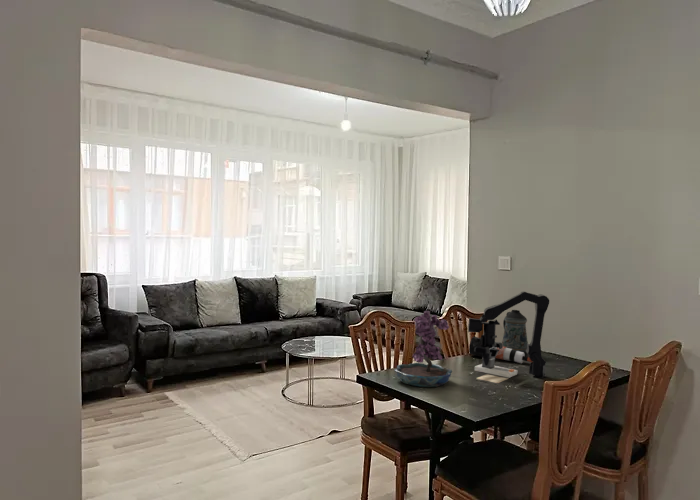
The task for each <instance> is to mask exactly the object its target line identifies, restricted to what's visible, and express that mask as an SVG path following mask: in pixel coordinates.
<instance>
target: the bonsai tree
mask: <svg viewBox="0 0 700 500" xmlns="http://www.w3.org/2000/svg"><path fill="white" fill-rule="evenodd" d="M413 320H414V322H415V323H414V325H415V327H414V328H415V334H416V335H418V336H419V338H418V346H416V347H415V352H414V353H413V354H412V356H411V357H412V358H413V360H414V361H415V363H414V362H413V363H409V364H403V363H401V364H398V365H397V366H396V368H394V370H393V372H394V375H395V377H396V378H397V379H398V380H400V382H402V383H403V384H405V385H408V386H413V387H419V388H420V387H421V388H432V387H433V388H436V387H437V388H438V387H440V386H441V387H442V386H444V385H445V384H447V383H448V382H449V380H450V378H451V375H452V372H453V371H452V369H451V368H447V367H443V366H442V365H439V364H434V363H432V360H439V361H441V360H443V356H442V354H441V352H440V347H439V346H436V339H435V337H436V335H437V333H436V329H435V327H436V328H437V329H438V330H444V331H446V330H448V329H449V328H450V327H449V323H448V321H447V319H441V320H440V318H438V315H437V314H432V315H431V311H429V310H424V311H423V313H422V314H421V315H419V316H416V317H414V318H413V319H412V321H413ZM434 326H435V327H434ZM424 360H425V361H424ZM423 362H426V363H427V364H426V363H423Z"/></svg>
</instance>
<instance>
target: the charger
mask: <svg viewBox="0 0 700 500" xmlns="http://www.w3.org/2000/svg"><path fill="white" fill-rule="evenodd" d="M481 359H482V360H481V364H482V367H484V368H489V369H492V368H494V366H496V365H495V360H496V358H495V357H494V356H490V359H489V362H488V365H487V366H486V365H485V363H484V360H483V357H481Z"/></svg>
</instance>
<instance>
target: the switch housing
mask: <svg viewBox="0 0 700 500" xmlns="http://www.w3.org/2000/svg"><path fill="white" fill-rule="evenodd" d="M474 372H478V373H479V372H480V373H485V374H488V375H493V376H498V377H503V378H508V379H509V378H511V377H514V376H517V375H518V369H513V368H509V367H508V368H507V367H503V366H498V365H494V368H492V369H489V368H484V367H482V363H481V364H478V365H475V366H474Z"/></svg>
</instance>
